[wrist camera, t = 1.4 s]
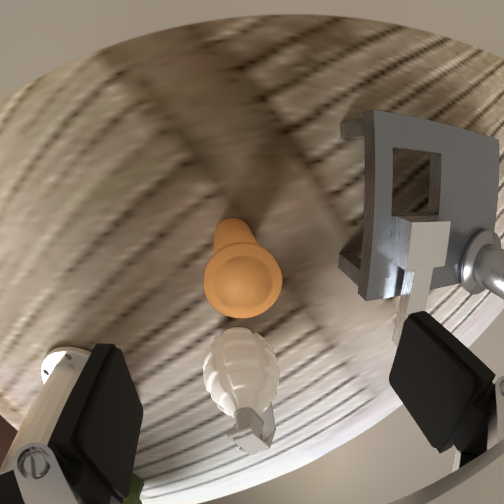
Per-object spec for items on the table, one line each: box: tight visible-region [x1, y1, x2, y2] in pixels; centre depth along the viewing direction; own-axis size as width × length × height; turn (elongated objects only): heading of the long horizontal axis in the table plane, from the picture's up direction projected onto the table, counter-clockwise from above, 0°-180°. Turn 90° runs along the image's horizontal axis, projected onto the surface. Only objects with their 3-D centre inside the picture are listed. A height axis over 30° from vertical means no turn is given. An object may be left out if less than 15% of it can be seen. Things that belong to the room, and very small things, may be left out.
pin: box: [204, 218, 282, 318], centre depth 20 cm, size 4×4×10 cm
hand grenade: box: [203, 327, 279, 455], centre depth 22 cm, size 8×6×13 cm
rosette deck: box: [338, 110, 504, 346], centre depth 20 cm, size 18×17×13 cm
